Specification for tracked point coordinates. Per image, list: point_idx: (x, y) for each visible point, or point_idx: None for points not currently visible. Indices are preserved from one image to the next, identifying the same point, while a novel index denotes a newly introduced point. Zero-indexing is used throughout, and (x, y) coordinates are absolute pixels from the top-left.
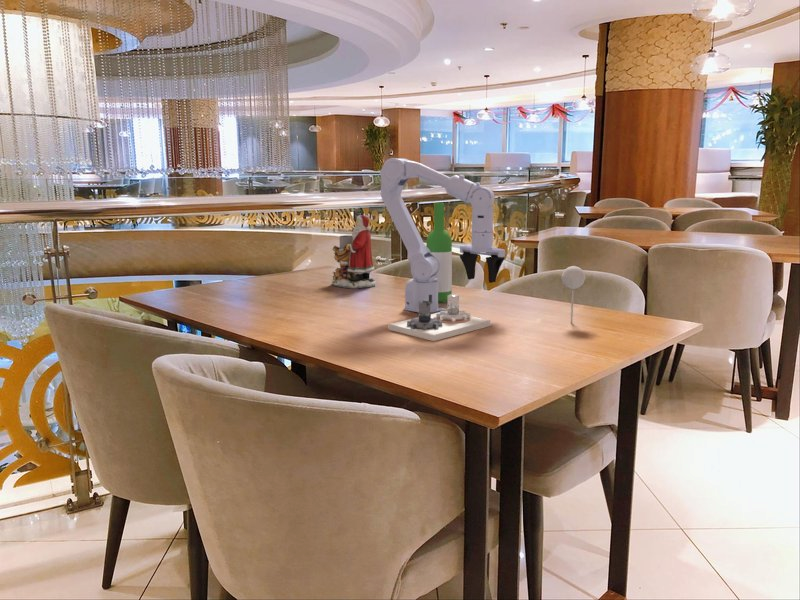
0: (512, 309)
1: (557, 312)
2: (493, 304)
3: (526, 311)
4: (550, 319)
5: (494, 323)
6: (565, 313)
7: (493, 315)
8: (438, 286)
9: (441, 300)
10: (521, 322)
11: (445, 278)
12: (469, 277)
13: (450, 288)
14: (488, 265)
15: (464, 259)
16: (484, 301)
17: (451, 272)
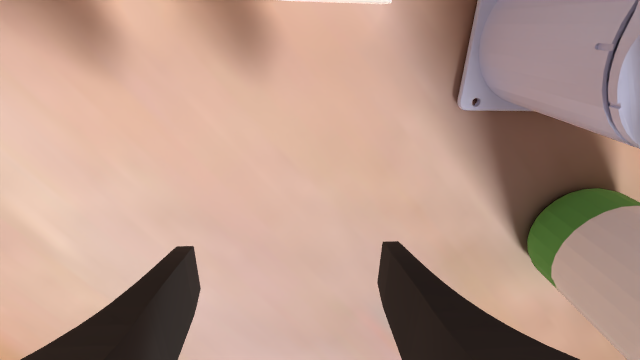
0: (255, 294)
1: None
2: (359, 306)
3: None
4: (35, 269)
5: (104, 59)
6: None
7: (231, 179)
8: (615, 236)
9: (548, 209)
10: (51, 160)
11: (619, 291)
12: (387, 250)
13: (559, 279)
14: (102, 344)
15: (495, 352)
16: None
17: (627, 355)
